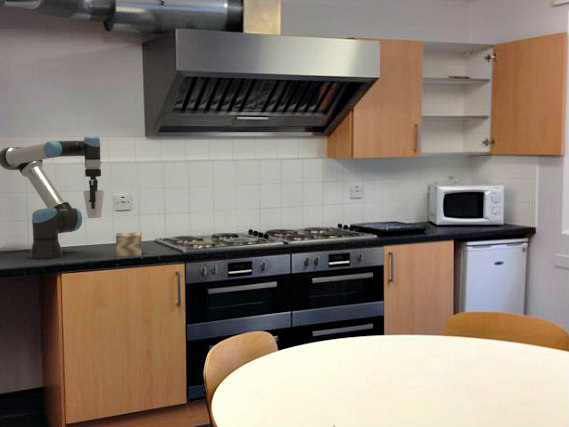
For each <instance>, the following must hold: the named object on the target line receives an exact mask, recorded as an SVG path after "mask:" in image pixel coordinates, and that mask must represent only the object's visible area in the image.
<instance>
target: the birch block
mask: <svg viewBox="0 0 569 427" xmlns="http://www.w3.org/2000/svg"><path fill="white" fill-rule="evenodd" d="M142 242H143V239H142V232H120V233H119V232H117V233H116V235H115V249H116V250H115V251H116V253H115V255H116V257H117V258H118V257H120V258H121V257H139V256H140V257H141V256H142V254H143V246H142V245H143V244H142Z"/></svg>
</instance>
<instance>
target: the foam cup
mask: <svg viewBox="0 0 569 427" xmlns="http://www.w3.org/2000/svg"><path fill="white" fill-rule="evenodd" d="M95 193H96V215H91V211H90V202H89V200H90V190H83V197H84V202H85V209H86V214H87V218H89V219H101V217H102V212H103V202H104V195H105V192H104V190H101V189H100V190H98V189H97V192H95Z"/></svg>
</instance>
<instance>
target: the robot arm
mask: <svg viewBox="0 0 569 427" xmlns="http://www.w3.org/2000/svg"><path fill="white" fill-rule="evenodd" d="M58 157H61V158H62V157H84V168H85V169H84V175H85V177H87V178H90V180H88V183H89V184H88V185H89V186H88V187H89V191H90V200H89V202H90V211H91V215H96V193H95V192H97V190H98V184H99V182H98V179H97V178H99V177H101V176H102V169H101V164H103V162H102V161H101V140H100V137H99V136H84V138H83V140H49V141H46V142H44V143H40V144H35V145H29V146H23V147H21V146H20V147H18V146H17V147H5V148H3V149H1V150H0V167H2V168H3V169H4V170H5V169H6V170H7V171H19V172H20V174H21V175H22V176H23V177H26V178H27V179H28V181H29V182H30V184H31V185H32V187H33V188H34V190H35V191H36V193H37V194H38V195H39V197H40V198H41V200H42V201H43V203H44V205H45V207H46V208H40V209H37V210H35V211H33V212H32V215H31V216H32V217H31V222H32V245H31V249H30V251H29V252H30V253H29V258H30V259H36V260H37V259H39V260H44V259H45V260H47V259H57V258H60V257H63V248H62V247H61V244H60V241H59V234H64V233H65V234H66V233H73V232H76V231H78V230H79V229H80V228H81V226H82V223H83V214H82V212H81V211H80V209H78V208H76V207H72V206H71V204H70V203H69V202H68V201H64V199H63V198H62V196H61V194H60V193H59V192H58V190H57V189H56V187H55V186H54V184H53V183H52V181H51V180H50V179H49V177H48V175H47V174H46V172H45V171H44V169H43V166H44V165H43V161H44V160H49V159H53V158H54V159H55V158H58Z"/></svg>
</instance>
